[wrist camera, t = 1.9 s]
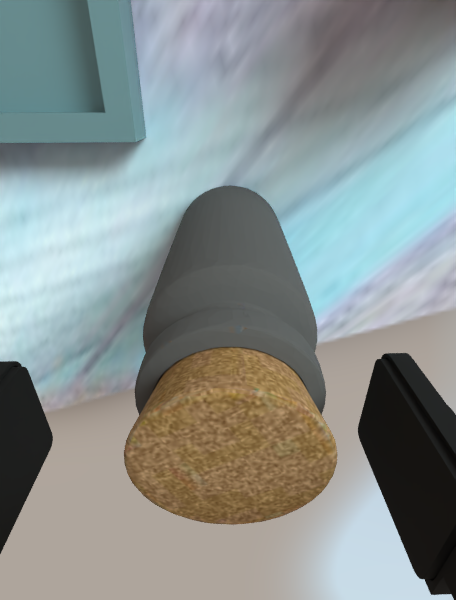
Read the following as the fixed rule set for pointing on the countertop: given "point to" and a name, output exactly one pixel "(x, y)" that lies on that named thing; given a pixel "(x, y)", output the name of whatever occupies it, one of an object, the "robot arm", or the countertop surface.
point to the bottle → (230, 372)
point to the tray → (69, 72)
